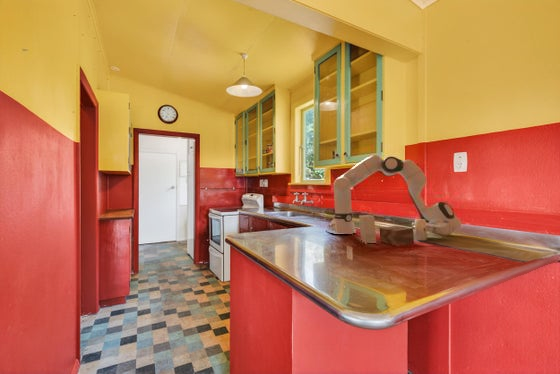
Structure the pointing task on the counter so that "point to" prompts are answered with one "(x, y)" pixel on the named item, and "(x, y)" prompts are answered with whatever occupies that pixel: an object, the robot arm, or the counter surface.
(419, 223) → the cream canister
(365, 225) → the skincare box
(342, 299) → the counter surface
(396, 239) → the walnut base
